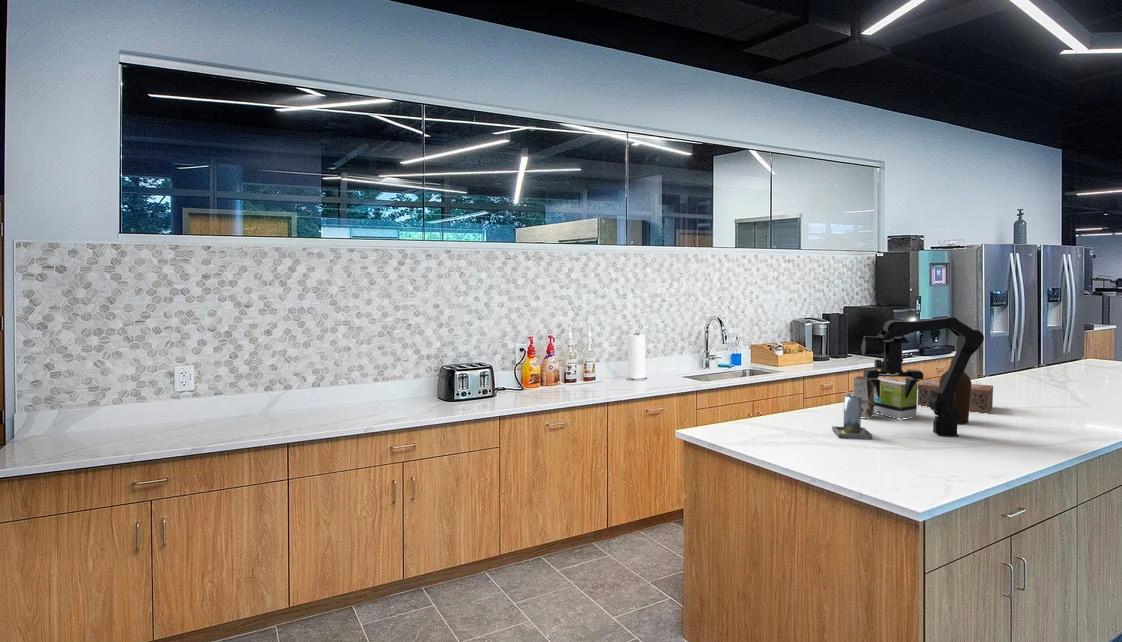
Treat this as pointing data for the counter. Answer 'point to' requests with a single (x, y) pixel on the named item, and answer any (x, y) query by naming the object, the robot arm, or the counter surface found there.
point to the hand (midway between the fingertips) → (892, 397)
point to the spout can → (852, 414)
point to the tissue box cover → (978, 399)
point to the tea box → (895, 399)
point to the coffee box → (865, 395)
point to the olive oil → (961, 397)
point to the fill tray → (841, 434)
